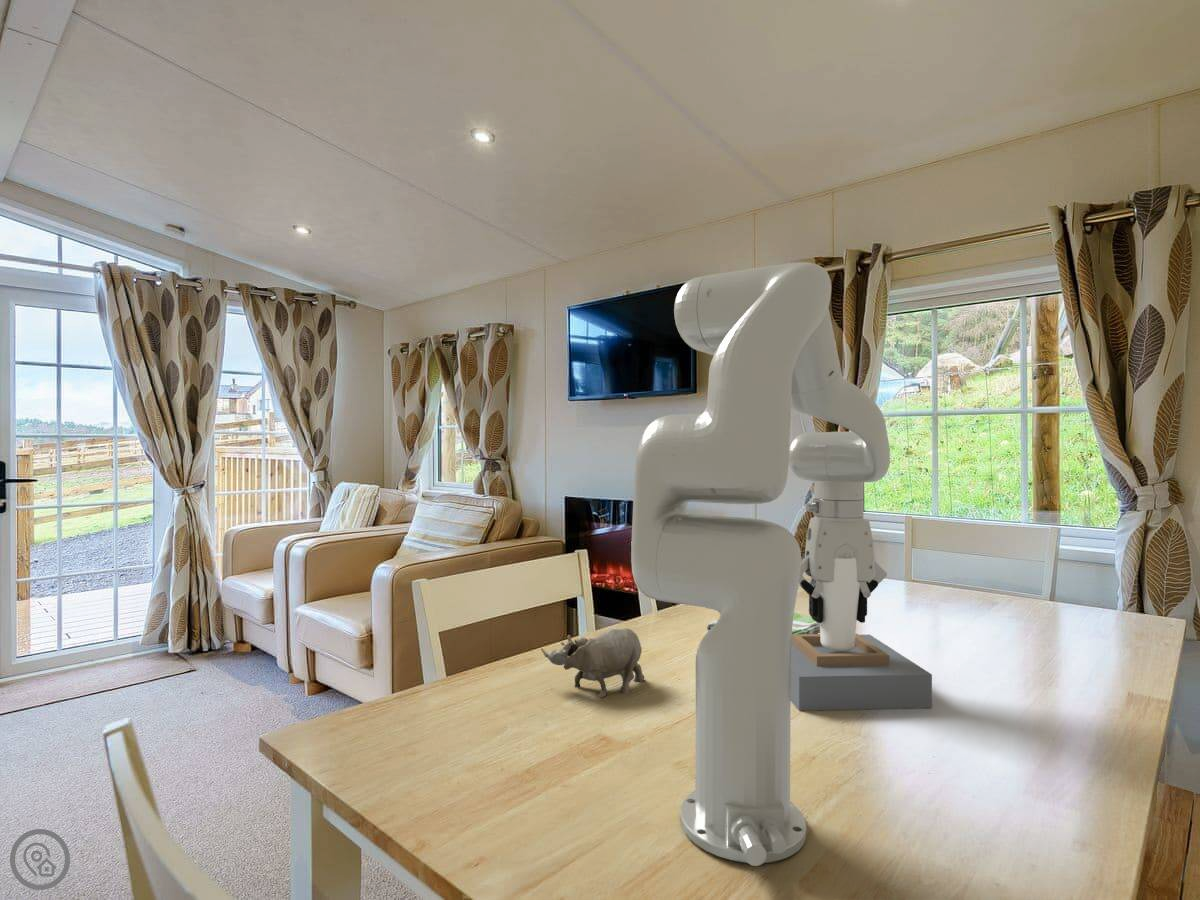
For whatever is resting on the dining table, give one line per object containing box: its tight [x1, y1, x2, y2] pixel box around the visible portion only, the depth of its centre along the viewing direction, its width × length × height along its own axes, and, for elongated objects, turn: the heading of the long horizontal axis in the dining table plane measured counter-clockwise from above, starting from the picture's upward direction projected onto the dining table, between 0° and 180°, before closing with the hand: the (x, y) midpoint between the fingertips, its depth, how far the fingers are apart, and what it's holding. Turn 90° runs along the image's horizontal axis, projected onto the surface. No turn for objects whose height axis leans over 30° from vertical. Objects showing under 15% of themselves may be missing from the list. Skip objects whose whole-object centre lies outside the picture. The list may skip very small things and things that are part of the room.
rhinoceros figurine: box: [540, 627, 645, 699], centre depth 104 cm, size 8×14×15 cm
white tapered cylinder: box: [820, 558, 860, 651], centre depth 106 cm, size 7×7×15 cm
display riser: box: [790, 633, 933, 712], centre depth 106 cm, size 20×20×6 cm
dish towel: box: [706, 612, 820, 634], centre depth 137 cm, size 17×23×4 cm
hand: (837, 619), depth 106 cm, fingers closed on white tapered cylinder, 6 cm apart
